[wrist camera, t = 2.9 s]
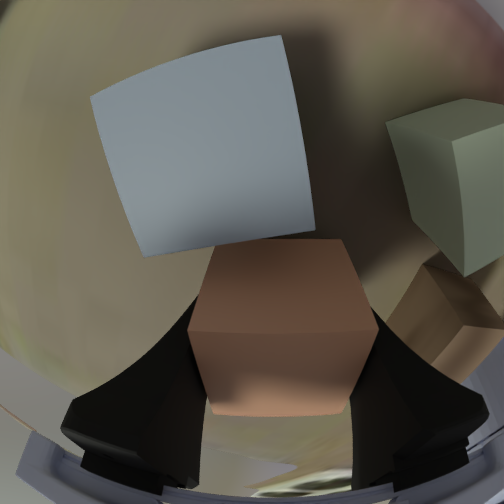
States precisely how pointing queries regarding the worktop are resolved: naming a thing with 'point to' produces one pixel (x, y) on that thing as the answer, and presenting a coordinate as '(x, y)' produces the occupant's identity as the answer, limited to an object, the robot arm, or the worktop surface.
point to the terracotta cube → (281, 328)
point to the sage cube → (455, 177)
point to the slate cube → (208, 148)
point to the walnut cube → (447, 322)
